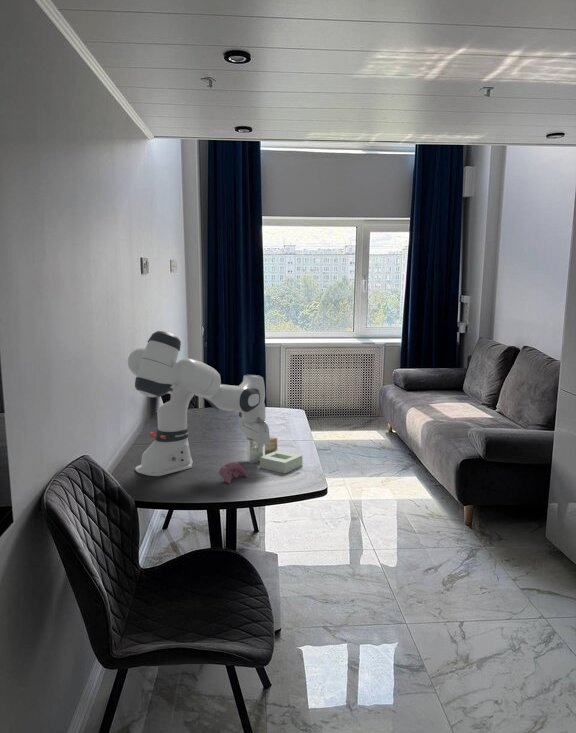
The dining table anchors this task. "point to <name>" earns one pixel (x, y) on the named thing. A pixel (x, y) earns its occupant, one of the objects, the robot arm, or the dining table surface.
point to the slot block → (281, 461)
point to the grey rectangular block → (253, 451)
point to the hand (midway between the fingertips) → (254, 449)
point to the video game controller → (235, 470)
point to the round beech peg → (271, 445)
